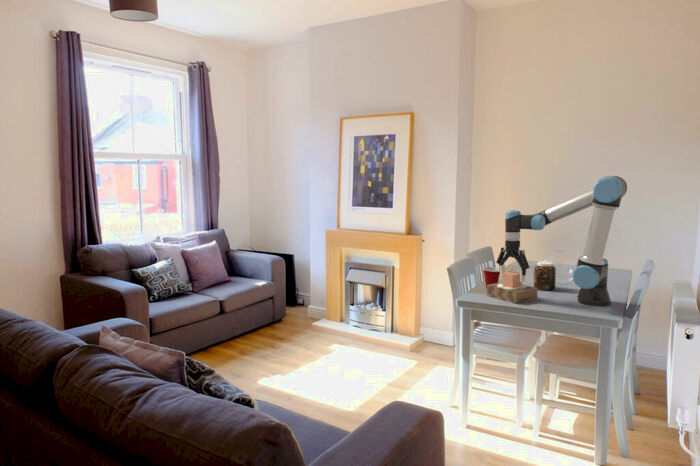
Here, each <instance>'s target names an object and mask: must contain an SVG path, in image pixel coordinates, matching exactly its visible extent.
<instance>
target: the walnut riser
mask: <svg viewBox="0 0 700 466" xmlns="http://www.w3.org/2000/svg"><path fill="white" fill-rule="evenodd" d="M486 296H487V297H490V298H493V297H494V298H493V299H496V300H497V299H498V300H501V301H504V302H507V303H511V304H514V305H516V304H521V303H525V302H526V301H527V302H531V301H535V299H536V300H538V290H537V288H535V287H534V286H530V285H527V284H526V285H525V284H523V283H522V286H521V287H516V288H510V287H506V286H502V281H500V282H498V283H495V284H490V285H487V289H486Z"/></svg>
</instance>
